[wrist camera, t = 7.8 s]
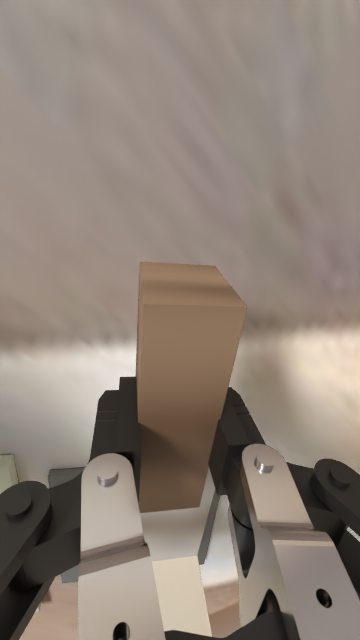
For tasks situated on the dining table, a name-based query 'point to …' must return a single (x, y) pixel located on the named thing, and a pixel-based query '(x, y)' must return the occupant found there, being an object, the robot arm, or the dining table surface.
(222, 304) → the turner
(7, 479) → the board
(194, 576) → the tile
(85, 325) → the dining table surface
